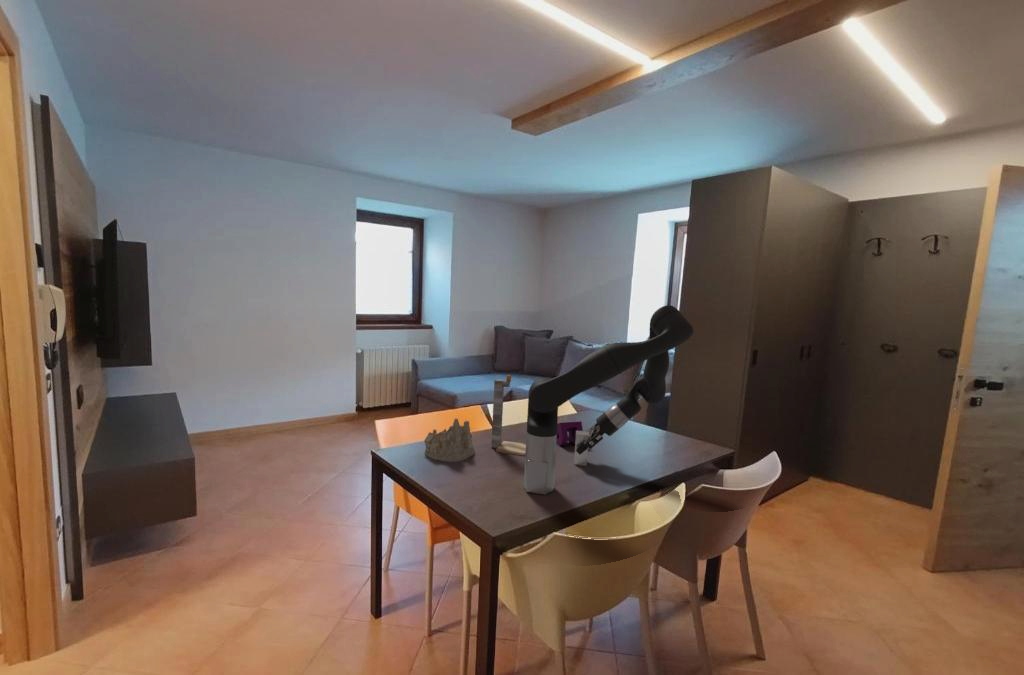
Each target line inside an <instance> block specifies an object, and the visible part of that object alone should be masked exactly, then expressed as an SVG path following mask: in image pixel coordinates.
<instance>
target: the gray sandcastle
mask: <svg viewBox="0 0 1024 675" xmlns="http://www.w3.org/2000/svg"><path fill="white" fill-rule="evenodd" d="M472 438H473V436H472V434H471V426H470V421H469V420H465V421H464V422H463V425H461V424H460V421H459V418H456V417H455V418H454V420H453V423H452V425H450V426H449V427H448V429H446V428H445V429H443V430H441V431H439V432H437V429H435V428H434V429H433V430H432V432H431V431H430V432H428V434H427V435H426V437H425V438H424V441H423V442H424V445H425V450H424V455H425V456H426V457H428V458H430V459H432V460H434V461H435V460H436V461H441V462H448V463H452V462H453V463H455V462H460V461H461V462H462V461H464V460H466V459H469V458H470V457H472V456H474V455H475V454H476V449H475V447H474V445H473V439H472Z"/></svg>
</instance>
